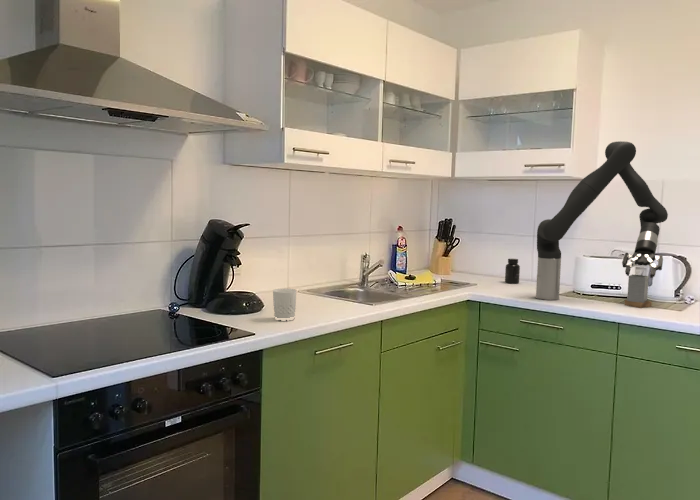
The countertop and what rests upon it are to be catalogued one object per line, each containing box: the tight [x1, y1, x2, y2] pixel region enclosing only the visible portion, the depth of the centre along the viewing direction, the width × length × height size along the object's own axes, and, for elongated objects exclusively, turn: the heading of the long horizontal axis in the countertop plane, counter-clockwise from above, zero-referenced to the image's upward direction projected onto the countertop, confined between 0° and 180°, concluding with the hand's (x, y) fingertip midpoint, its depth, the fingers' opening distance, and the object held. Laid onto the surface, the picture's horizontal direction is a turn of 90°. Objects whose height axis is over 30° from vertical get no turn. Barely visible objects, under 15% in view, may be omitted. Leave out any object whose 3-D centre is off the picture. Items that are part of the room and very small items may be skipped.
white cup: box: [272, 288, 297, 318], centre depth 199 cm, size 8×8×10 cm
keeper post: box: [624, 299, 653, 309], centre depth 234 cm, size 7×7×10 cm
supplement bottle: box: [504, 258, 521, 285], centre depth 290 cm, size 7×7×12 cm
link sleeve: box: [626, 274, 650, 303], centre depth 233 cm, size 6×6×10 cm
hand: (639, 275), depth 232 cm, fingers open, 8 cm apart
